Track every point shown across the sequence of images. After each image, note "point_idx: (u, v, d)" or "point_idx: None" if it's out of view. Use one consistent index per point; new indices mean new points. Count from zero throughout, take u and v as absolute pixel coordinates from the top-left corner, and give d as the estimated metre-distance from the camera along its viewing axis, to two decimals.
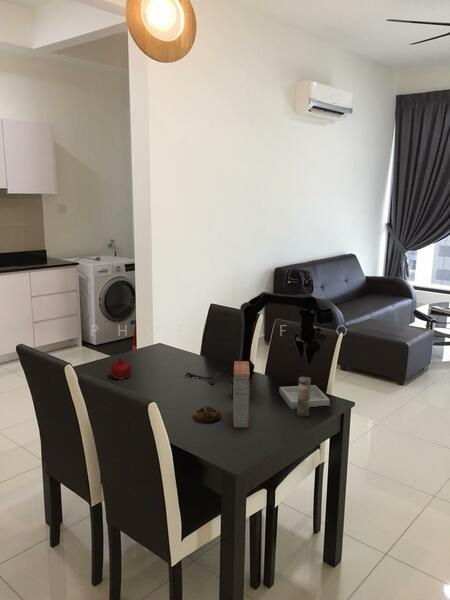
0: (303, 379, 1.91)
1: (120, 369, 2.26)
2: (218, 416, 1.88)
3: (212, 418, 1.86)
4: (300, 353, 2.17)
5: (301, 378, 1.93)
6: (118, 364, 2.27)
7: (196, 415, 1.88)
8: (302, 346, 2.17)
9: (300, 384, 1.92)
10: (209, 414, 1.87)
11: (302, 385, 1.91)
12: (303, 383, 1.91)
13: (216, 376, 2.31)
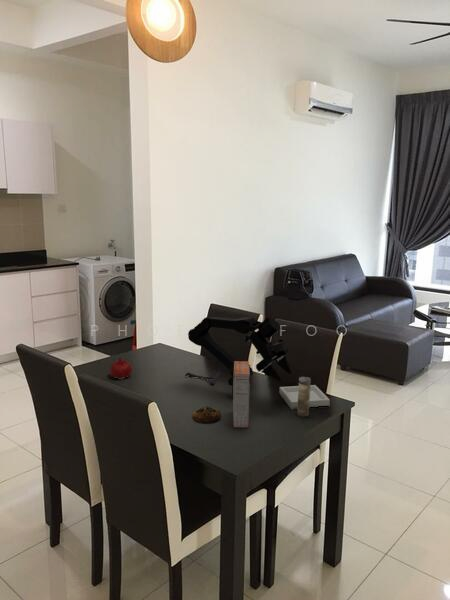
0: (303, 379, 1.91)
1: (120, 369, 2.26)
2: (218, 416, 1.88)
3: (211, 418, 1.86)
4: (287, 370, 2.01)
5: (301, 378, 1.93)
6: (118, 364, 2.27)
7: (196, 415, 1.88)
8: (284, 363, 2.02)
9: (300, 384, 1.92)
10: (209, 414, 1.87)
11: (302, 385, 1.91)
12: (303, 383, 1.91)
13: (216, 376, 2.31)
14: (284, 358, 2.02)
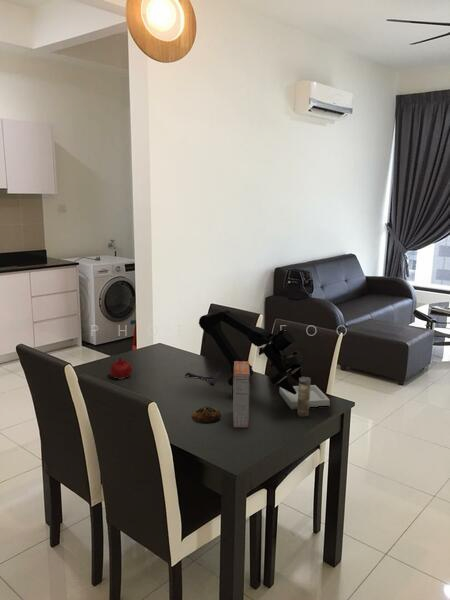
0: (303, 379, 1.91)
1: (120, 369, 2.26)
2: (218, 416, 1.88)
3: (211, 418, 1.86)
4: None
5: (301, 378, 1.93)
6: (118, 364, 2.27)
7: (196, 415, 1.88)
8: (299, 376, 1.99)
9: (300, 384, 1.92)
10: (209, 414, 1.87)
11: (302, 385, 1.91)
12: (303, 383, 1.91)
13: (216, 376, 2.31)
14: (298, 371, 1.99)
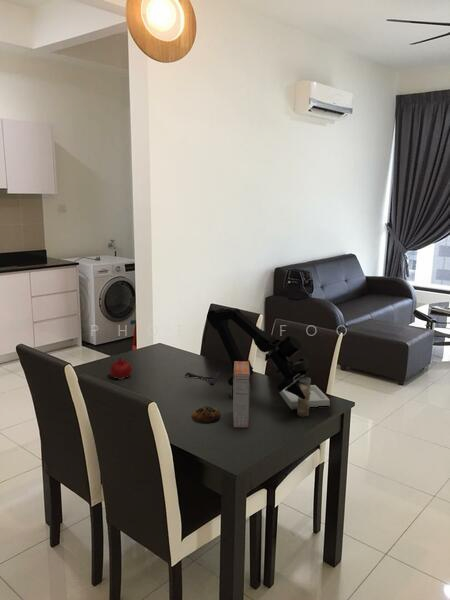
0: (303, 379, 1.91)
1: (120, 369, 2.26)
2: (217, 416, 1.88)
3: (211, 418, 1.86)
4: None
5: (301, 378, 1.93)
6: (118, 364, 2.27)
7: (195, 415, 1.88)
8: None
9: (300, 384, 1.92)
10: (208, 414, 1.87)
11: (302, 385, 1.91)
12: (303, 383, 1.91)
13: (216, 376, 2.31)
14: None
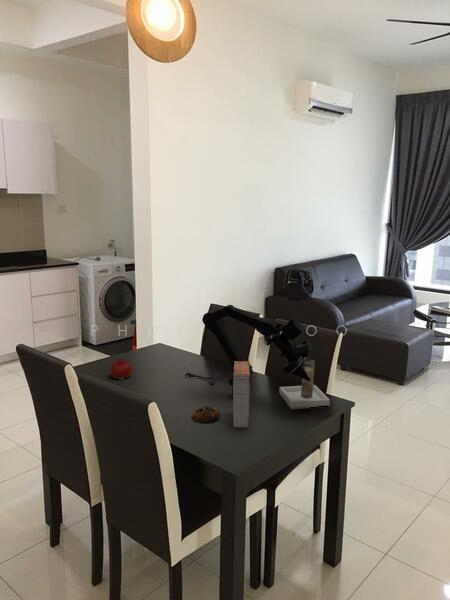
0: (308, 362, 1.93)
1: (120, 369, 2.26)
2: (217, 416, 1.88)
3: (210, 418, 1.86)
4: None
5: (305, 360, 1.95)
6: (118, 364, 2.27)
7: (195, 415, 1.88)
8: None
9: (305, 366, 1.94)
10: (208, 414, 1.87)
11: (307, 367, 1.93)
12: (308, 365, 1.93)
13: (216, 376, 2.31)
14: None
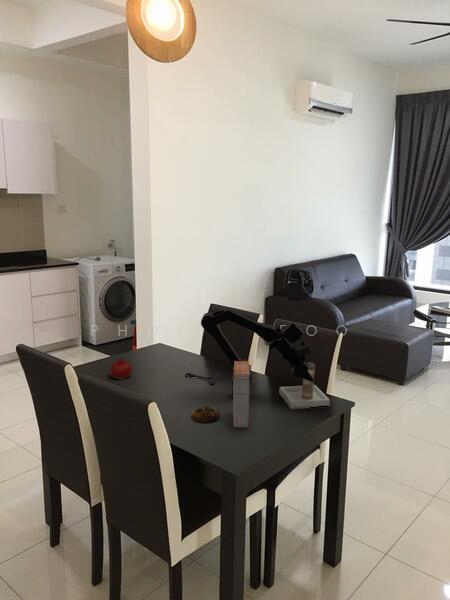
0: (310, 365, 2.05)
1: (120, 369, 2.26)
2: (216, 416, 1.88)
3: (210, 418, 1.86)
4: None
5: None
6: (118, 364, 2.27)
7: (194, 415, 1.88)
8: None
9: None
10: (207, 414, 1.87)
11: (310, 370, 2.04)
12: (311, 368, 2.04)
13: (216, 376, 2.31)
14: (302, 359, 2.11)
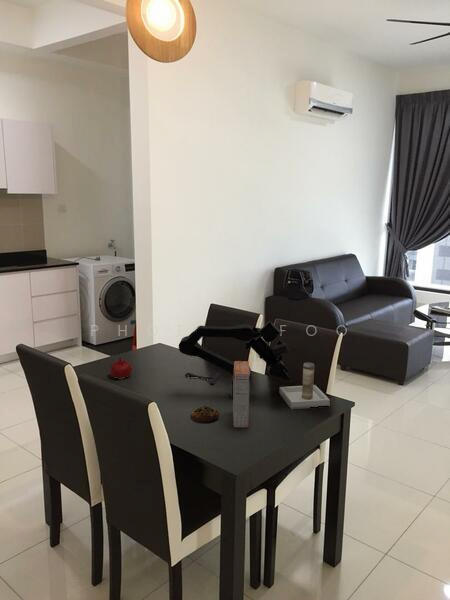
0: (309, 365, 2.05)
1: (120, 369, 2.26)
2: (216, 416, 1.88)
3: (209, 418, 1.86)
4: (284, 370, 2.12)
5: (306, 364, 2.06)
6: (118, 364, 2.27)
7: (194, 415, 1.88)
8: None
9: (307, 370, 2.04)
10: (207, 414, 1.87)
11: (310, 370, 2.04)
12: (310, 368, 2.04)
13: (216, 376, 2.31)
14: (280, 359, 2.11)
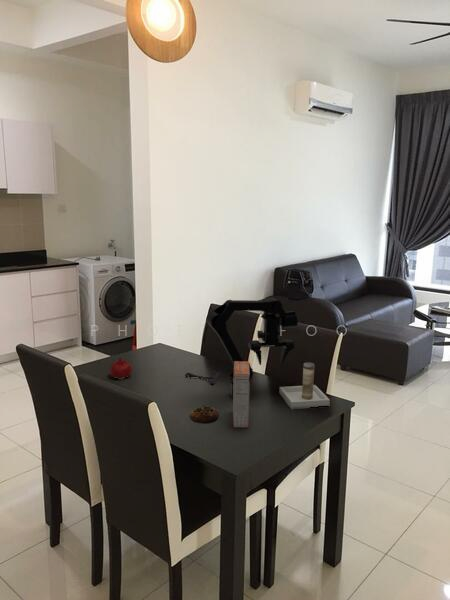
0: (309, 365, 2.05)
1: (120, 369, 2.26)
2: (215, 416, 1.88)
3: (208, 418, 1.86)
4: None
5: (306, 364, 2.06)
6: (118, 364, 2.27)
7: (193, 414, 1.88)
8: None
9: (307, 370, 2.04)
10: (206, 413, 1.87)
11: (310, 370, 2.04)
12: (310, 368, 2.04)
13: (216, 376, 2.31)
14: None
